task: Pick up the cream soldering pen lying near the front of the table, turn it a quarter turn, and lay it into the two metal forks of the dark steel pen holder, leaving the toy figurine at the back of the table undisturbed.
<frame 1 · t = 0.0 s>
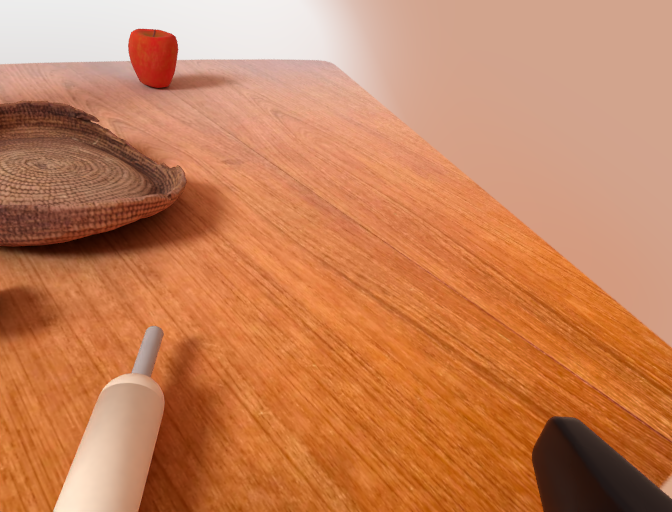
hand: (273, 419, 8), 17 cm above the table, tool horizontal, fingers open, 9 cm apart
basket: (51, 202, 45), on the table
apple: (154, 87, 76), on the table
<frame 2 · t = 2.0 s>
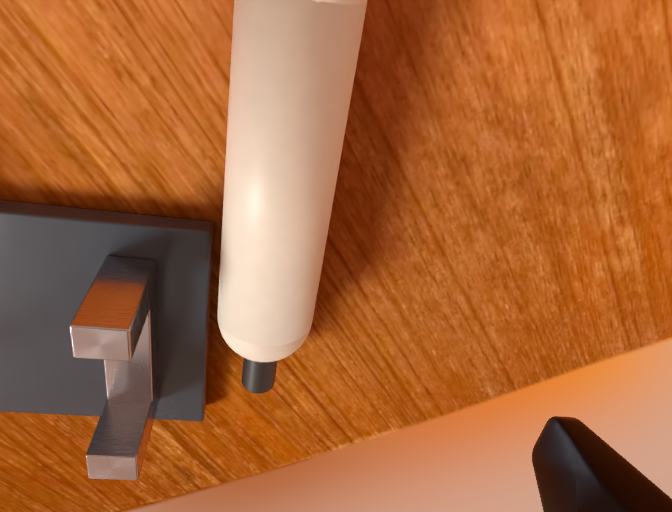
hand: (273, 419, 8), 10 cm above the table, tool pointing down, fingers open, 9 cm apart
soldering pen: (281, 158, 17), on the table
pen holder: (10, 309, 19), on the table
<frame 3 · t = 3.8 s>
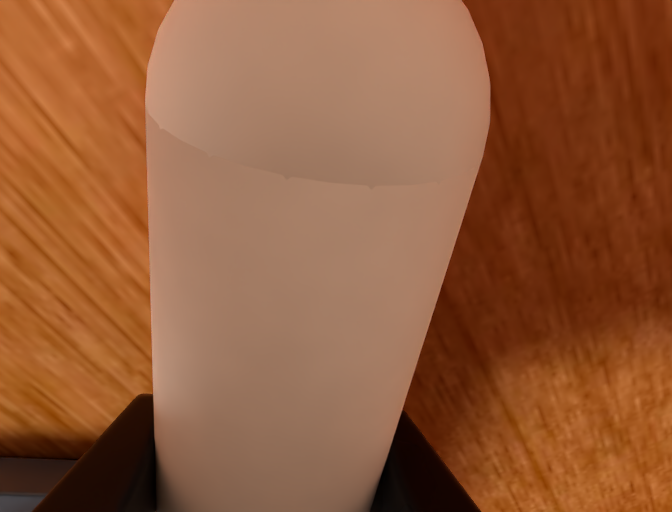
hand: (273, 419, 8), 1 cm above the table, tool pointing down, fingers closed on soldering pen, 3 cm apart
soldering pen: (274, 371, 9), on the table, touching gripper
when the fingers open (3 cm above the table, at t = 9.5 s): soldering pen stays where it is, resting on pen holder.
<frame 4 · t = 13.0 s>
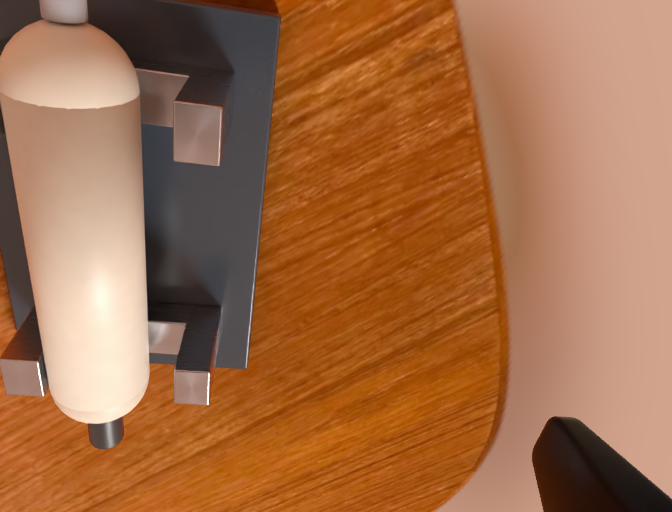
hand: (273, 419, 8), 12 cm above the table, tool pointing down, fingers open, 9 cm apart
soldering pen: (119, 231, 18), point 2 cm above the table, tilted 18°, touching pen holder
pen holder: (135, 203, 19), on the table
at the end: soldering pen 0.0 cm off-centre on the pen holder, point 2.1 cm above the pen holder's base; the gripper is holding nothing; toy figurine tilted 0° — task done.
